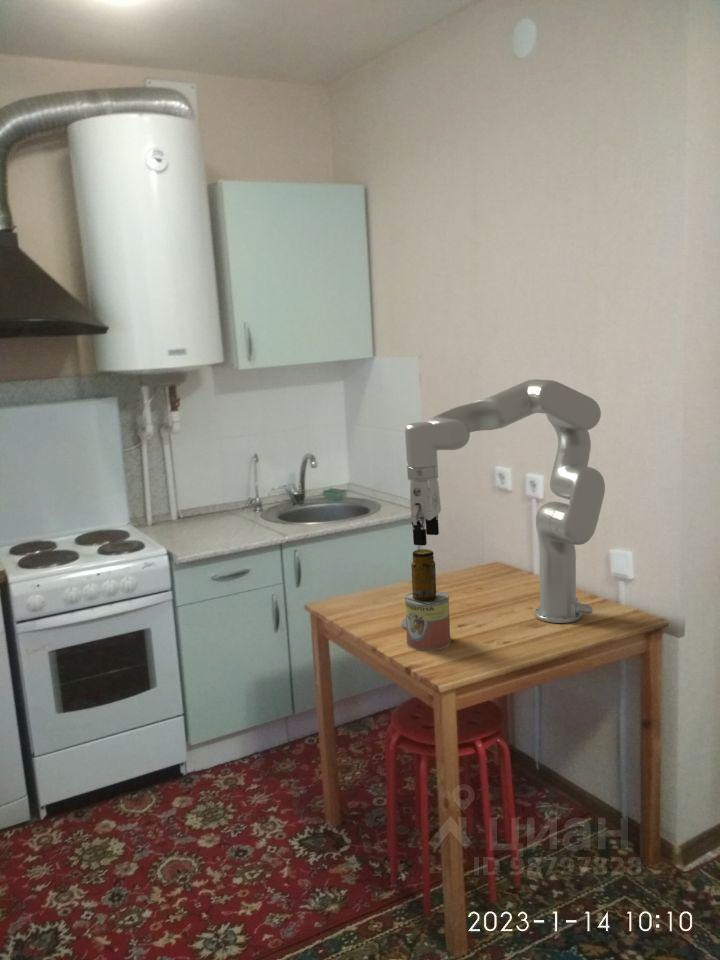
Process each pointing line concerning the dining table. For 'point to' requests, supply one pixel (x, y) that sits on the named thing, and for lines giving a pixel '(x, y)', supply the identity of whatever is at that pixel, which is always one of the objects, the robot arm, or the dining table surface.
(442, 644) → the canned food
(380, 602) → the dining table surface
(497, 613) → the dining table surface
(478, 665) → the dining table surface
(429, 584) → the condiment
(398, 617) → the dining table surface
